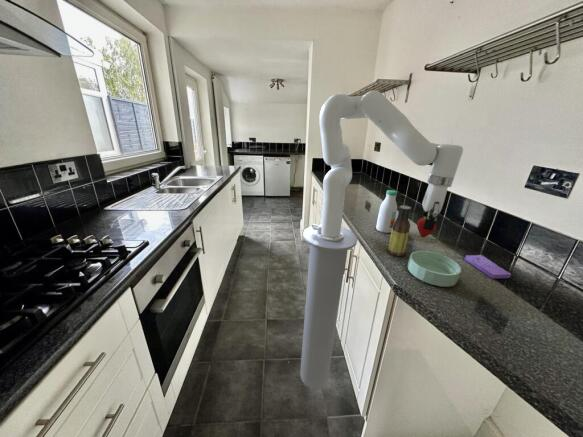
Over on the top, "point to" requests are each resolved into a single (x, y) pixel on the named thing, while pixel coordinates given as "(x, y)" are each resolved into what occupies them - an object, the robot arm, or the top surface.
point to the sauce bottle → (400, 232)
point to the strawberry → (423, 231)
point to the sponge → (487, 266)
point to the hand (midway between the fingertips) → (426, 225)
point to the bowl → (434, 268)
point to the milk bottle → (387, 212)
